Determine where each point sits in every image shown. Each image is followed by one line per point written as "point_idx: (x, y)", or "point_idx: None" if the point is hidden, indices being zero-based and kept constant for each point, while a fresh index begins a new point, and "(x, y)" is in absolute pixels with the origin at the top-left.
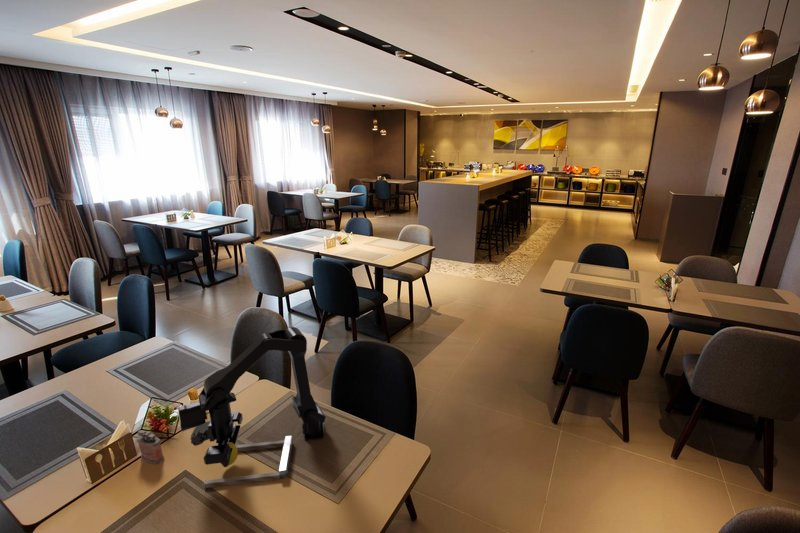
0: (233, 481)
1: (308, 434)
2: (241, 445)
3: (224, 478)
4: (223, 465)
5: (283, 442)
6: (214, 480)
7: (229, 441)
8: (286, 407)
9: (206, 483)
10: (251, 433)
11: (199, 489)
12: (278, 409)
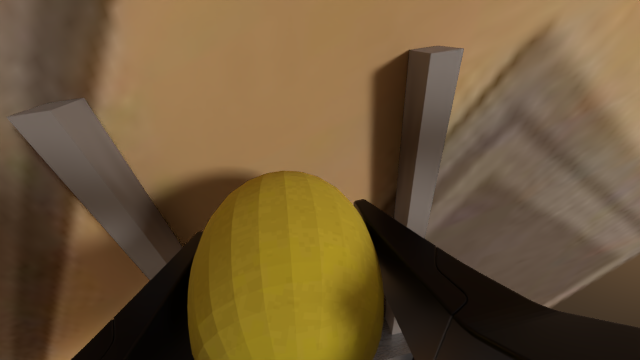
0: (150, 273)
1: (413, 358)
2: (425, 205)
3: (141, 235)
4: (184, 252)
5: (394, 330)
6: (94, 183)
7: (408, 298)
8: (600, 250)
9: (26, 137)
10: (515, 186)
11: (5, 59)
12: (611, 229)
